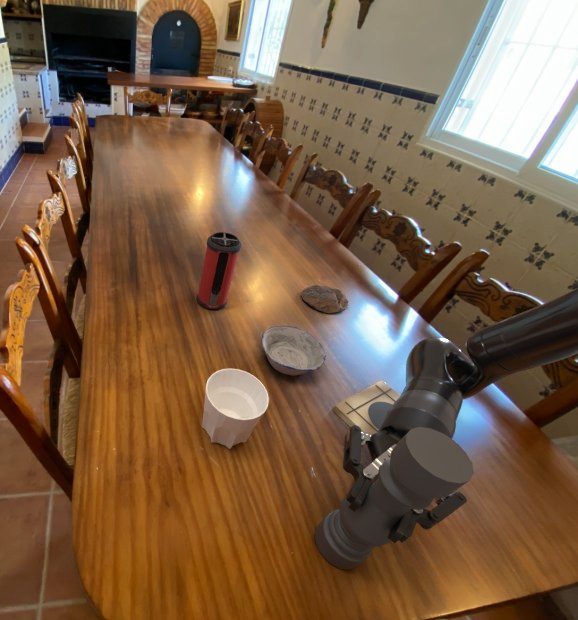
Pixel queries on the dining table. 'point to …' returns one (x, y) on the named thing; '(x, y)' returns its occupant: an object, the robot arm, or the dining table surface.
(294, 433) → the dining table surface
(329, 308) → the rock
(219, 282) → the speaker
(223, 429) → the cup
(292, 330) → the bowl
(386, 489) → the candle holder
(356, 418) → the board
